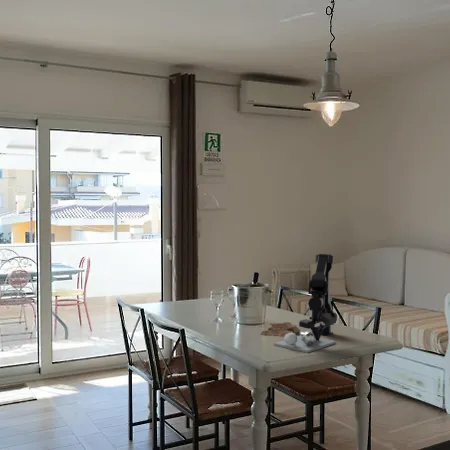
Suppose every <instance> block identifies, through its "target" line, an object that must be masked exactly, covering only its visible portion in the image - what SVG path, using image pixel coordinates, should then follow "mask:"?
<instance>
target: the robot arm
mask: <svg viewBox="0 0 450 450" xmlns="http://www.w3.org/2000/svg"><path fill="white" fill-rule="evenodd" d="M314 263H315V264H316V268H315V273H313V274H312V275H311V278H310V279H309V283H308V291H307V292H308V293H307V295H311V298H309V300H308V307H309V311H310V312H311V315H310V316H309V318H308V319H306V318H305V319H300V320H299V322H298V326H299V327H301V328H304V329H310V331H312V332H313V334H314V336H315V339H316V341H319V339H320V338H322V337H321V336H322V335H323V336H330V335H333V334H334V332H333V331H331V329H332V326H334V324H336V323H337V321H338V314H337V313H336V312H334V310H333V305H332V304H331V302H330V271H331V269H333V265H334V263H335V257H334V256H333V255H332V254H331V253H330V254H328V253H318V254H316V255H315V260H314ZM299 327H298V328H299Z"/></svg>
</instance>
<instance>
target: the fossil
mask: <svg viewBox="0 0 450 450" xmlns="http://www.w3.org/2000/svg"><path fill="white" fill-rule="evenodd" d="M269 325H270V326H271V327H269V328H268V329H267V330H262V331H261V332H260V333H259V334H260V335H262V336H267V337H270V336H272V337H280V338H281V337H283V338H284V337H285V335H286V334H289V333H295V334H296V335H297V334H298V333H300V332H301V329H300V328H299V327H298V326H297V325H296V324H292V322H282V323H281V322H280V323H279V322H278V323H275V322H274V323H269Z"/></svg>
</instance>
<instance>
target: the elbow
mask: <svg viewBox="0 0 450 450" xmlns="http://www.w3.org/2000/svg"><path fill="white" fill-rule="evenodd" d="M300 335H302V336H303V341H304V343H305V344H306V345H311V344H313V343H314V334H313V332H312V330H300V331H299V336H300Z"/></svg>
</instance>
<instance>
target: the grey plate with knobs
mask: <svg viewBox="0 0 450 450" xmlns="http://www.w3.org/2000/svg"><path fill="white" fill-rule="evenodd" d="M283 339H284V340H280V341H277V342H274V343H273V346H275V347H280V348H283V349H284V348H285V349H289V350H293V351H297V352H302V353H306V354H308V353H310V352H314V351H317V350H319V349H323V348H326V347H328V346H329V347H330V346H332V345H335V344H337V341H335V340H331V339H327V338H322V337H320V339H319V341H316V339H315V336H314V343H313V344H311V345H306V344H305V343H304V341H303V336H302V335H300V334H299V335H297V333H296V334H295V333H294V332H293V333H289V334H286V335H285V337H283Z"/></svg>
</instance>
